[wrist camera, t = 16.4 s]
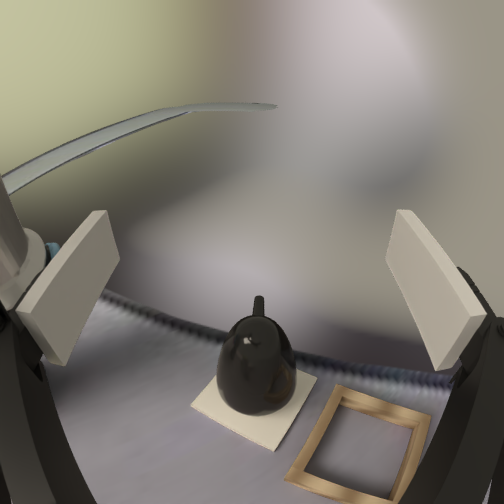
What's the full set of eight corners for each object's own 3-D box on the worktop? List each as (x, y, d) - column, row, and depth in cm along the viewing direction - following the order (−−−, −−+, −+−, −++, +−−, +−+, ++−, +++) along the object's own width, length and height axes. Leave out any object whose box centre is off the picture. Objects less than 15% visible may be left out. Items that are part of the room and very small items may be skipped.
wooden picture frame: (283, 480, 29) (285, 476, 27) (332, 392, 39) (336, 383, 38) (391, 516, 22) (399, 514, 21) (424, 423, 33) (431, 415, 31)
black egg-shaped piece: (293, 365, 43) (304, 289, 34) (293, 428, 34) (309, 366, 26) (225, 362, 44) (215, 286, 35) (215, 423, 35) (196, 360, 26)
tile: (191, 406, 38) (190, 404, 37) (241, 346, 47) (241, 344, 46) (274, 452, 32) (274, 450, 32) (316, 379, 41) (317, 377, 41)
